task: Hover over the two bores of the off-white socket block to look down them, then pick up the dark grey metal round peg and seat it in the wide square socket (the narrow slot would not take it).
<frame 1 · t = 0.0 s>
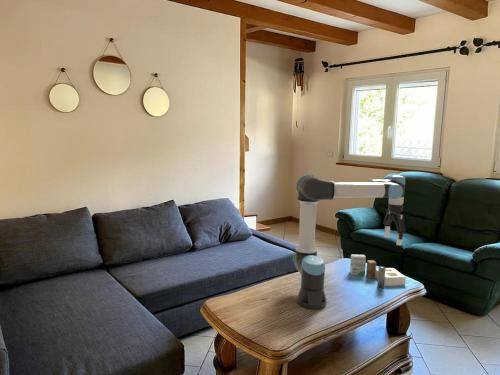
hand: (392, 241, 202), 28 cm above the table, fingers open, 13 cm apart
ink box: (357, 273, 228), on the table
round peg: (380, 287, 208), on the table
walnut square bar: (370, 277, 223), on the table
socket block: (389, 280, 218), on the table
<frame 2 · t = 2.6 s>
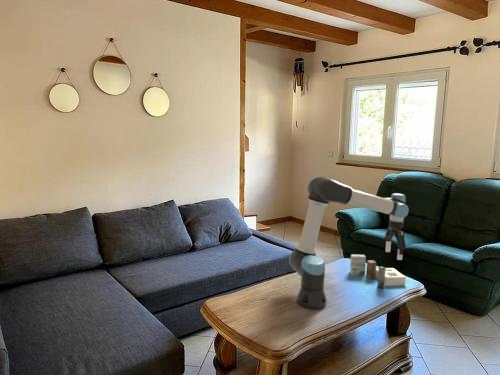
hand: (393, 255, 213), 17 cm above the table, fingers open, 13 cm apart
nothing on the table moved.
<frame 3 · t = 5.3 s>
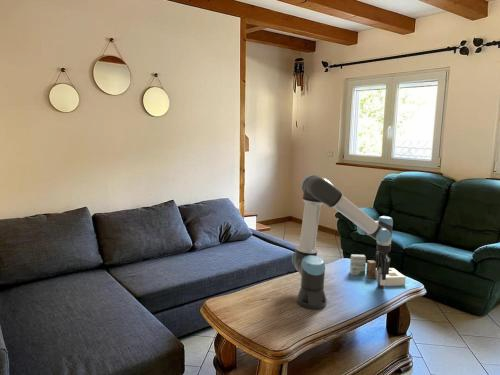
hand: (380, 283, 208), 3 cm above the table, fingers closed on round peg, 3 cm apart
round peg: (380, 287, 208), on the table, touching gripper
everything else where it was.
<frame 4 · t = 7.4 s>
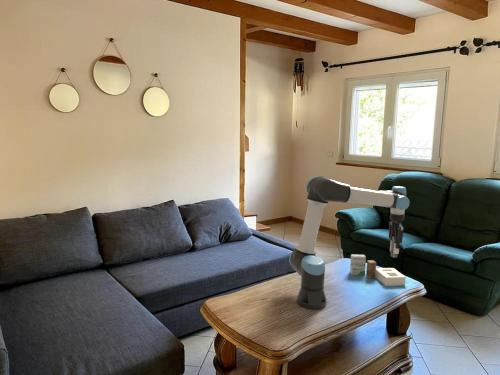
hand: (394, 252, 212), 19 cm above the table, fingers closed on round peg, 3 cm apart
round peg: (393, 256, 213), point 16 cm above the table, touching gripper
everything else where it was.
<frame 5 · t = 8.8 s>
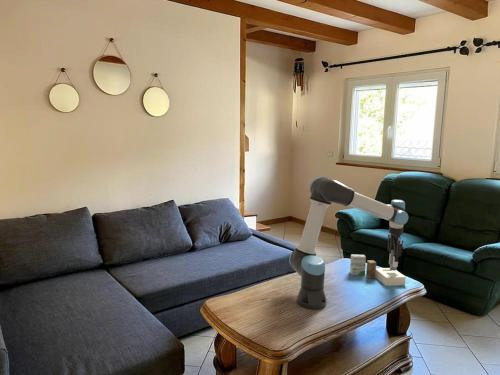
hand: (393, 265, 214), 11 cm above the table, fingers closed on round peg, 3 cm apart
round peg: (392, 269, 214), point 8 cm above the table, touching gripper
everything else where it was.
when the fingers open (6 cm above the table, at t = 9.9 s): round peg drops 2 cm, resting on socket block.
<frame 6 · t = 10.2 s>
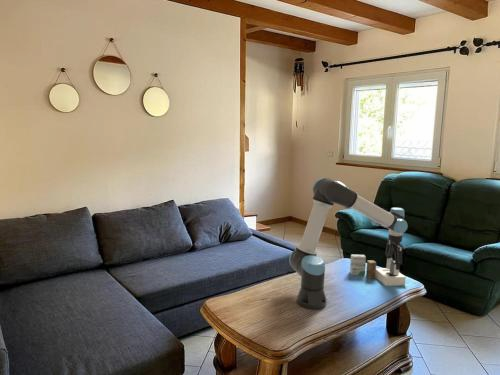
hand: (392, 271, 214), 7 cm above the table, fingers open, 8 cm apart
round peg: (391, 280, 215), point 1 cm above the table, touching socket block
everything else where it was.
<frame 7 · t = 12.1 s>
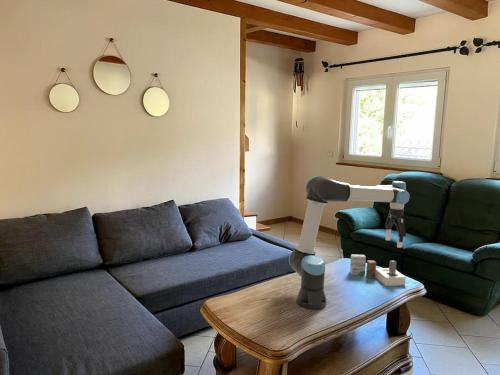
hand: (393, 243, 212), 24 cm above the table, fingers open, 13 cm apart
nothing on the table moved.
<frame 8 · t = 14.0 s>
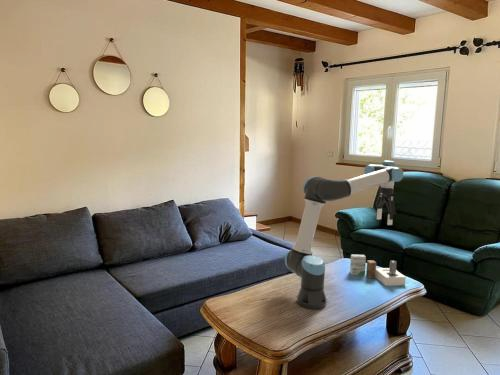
hand: (384, 221, 218), 35 cm above the table, fingers open, 13 cm apart
nothing on the table moved.
at the end: round peg 0.0 cm from the target spot on the socket block, point 1.0 cm above the socket block's base; round peg tilted 1°; the gripper is holding nothing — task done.
